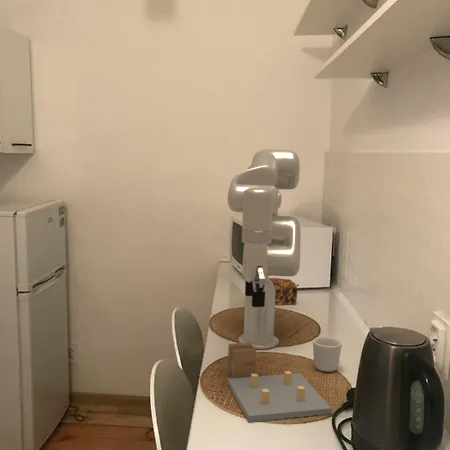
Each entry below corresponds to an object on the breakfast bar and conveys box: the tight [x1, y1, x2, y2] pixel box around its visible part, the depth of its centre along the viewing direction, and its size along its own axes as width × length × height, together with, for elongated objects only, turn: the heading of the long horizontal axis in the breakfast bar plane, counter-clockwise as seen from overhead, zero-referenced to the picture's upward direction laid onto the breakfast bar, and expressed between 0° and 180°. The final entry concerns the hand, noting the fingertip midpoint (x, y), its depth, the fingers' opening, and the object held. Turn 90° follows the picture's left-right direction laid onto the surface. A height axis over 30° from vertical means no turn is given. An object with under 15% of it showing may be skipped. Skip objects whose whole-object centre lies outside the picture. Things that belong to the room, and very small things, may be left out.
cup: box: [312, 336, 343, 373], centre depth 150 cm, size 11×8×8 cm
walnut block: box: [227, 342, 257, 378], centre depth 143 cm, size 6×6×8 cm
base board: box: [227, 370, 333, 423], centre depth 130 cm, size 20×20×4 cm
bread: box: [268, 277, 298, 306], centre depth 215 cm, size 19×11×10 cm, turn 98°
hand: (254, 301), depth 138 cm, fingers open, 9 cm apart
